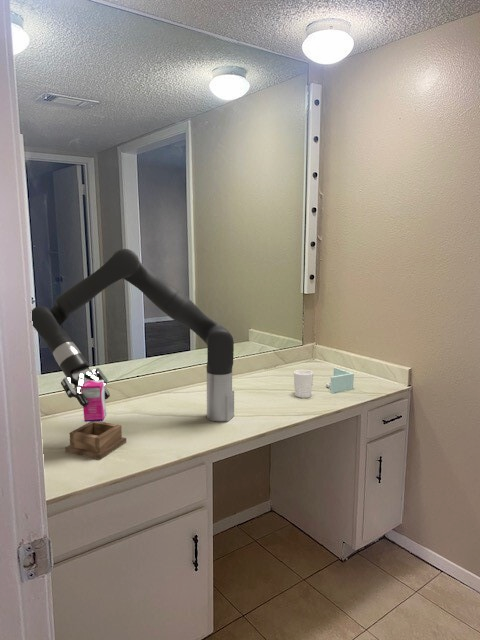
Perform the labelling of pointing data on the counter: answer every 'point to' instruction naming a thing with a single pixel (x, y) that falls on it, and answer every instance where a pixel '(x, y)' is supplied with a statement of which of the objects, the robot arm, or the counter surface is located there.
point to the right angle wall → (340, 381)
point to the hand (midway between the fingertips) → (97, 401)
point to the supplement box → (94, 400)
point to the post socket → (95, 439)
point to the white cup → (303, 383)
